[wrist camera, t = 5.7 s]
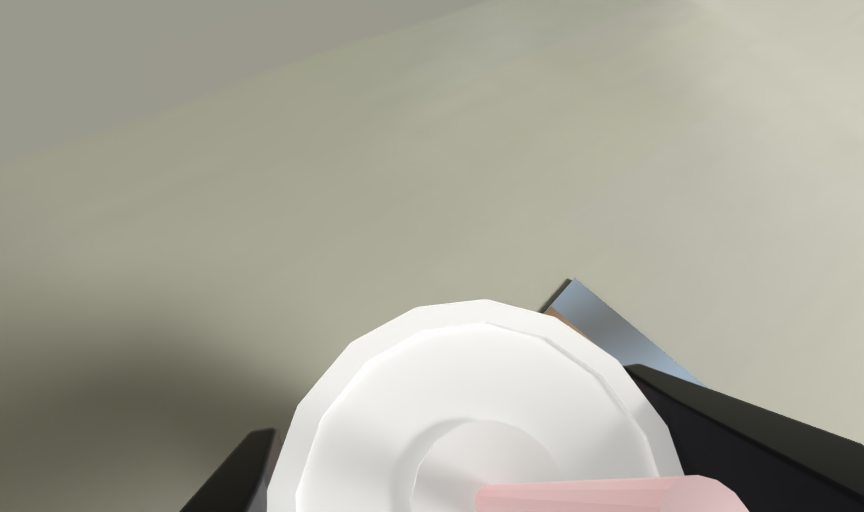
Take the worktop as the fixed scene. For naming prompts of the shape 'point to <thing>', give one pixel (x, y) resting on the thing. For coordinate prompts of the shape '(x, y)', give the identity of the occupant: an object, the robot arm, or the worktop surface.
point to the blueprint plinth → (611, 331)
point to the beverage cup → (482, 425)
